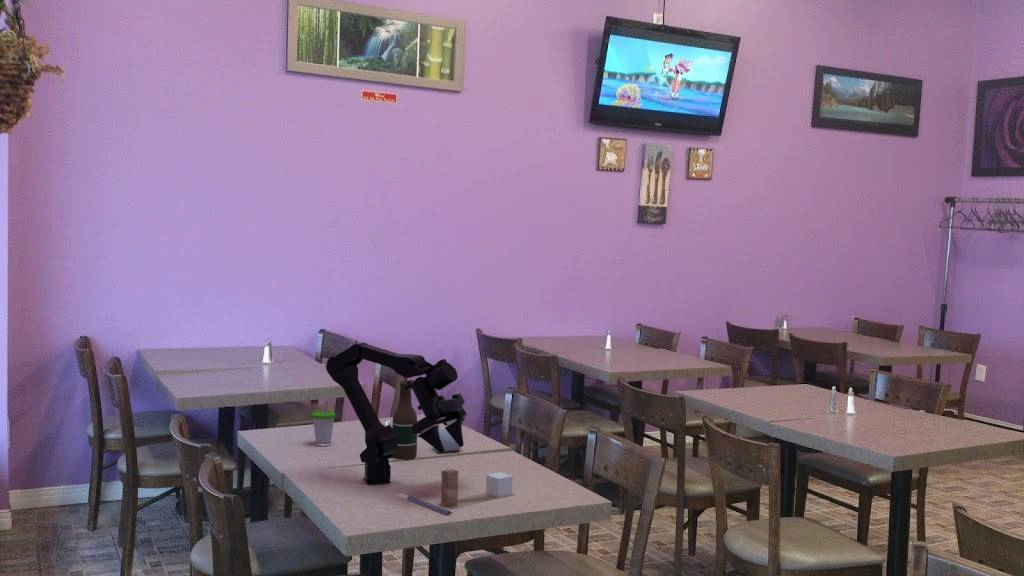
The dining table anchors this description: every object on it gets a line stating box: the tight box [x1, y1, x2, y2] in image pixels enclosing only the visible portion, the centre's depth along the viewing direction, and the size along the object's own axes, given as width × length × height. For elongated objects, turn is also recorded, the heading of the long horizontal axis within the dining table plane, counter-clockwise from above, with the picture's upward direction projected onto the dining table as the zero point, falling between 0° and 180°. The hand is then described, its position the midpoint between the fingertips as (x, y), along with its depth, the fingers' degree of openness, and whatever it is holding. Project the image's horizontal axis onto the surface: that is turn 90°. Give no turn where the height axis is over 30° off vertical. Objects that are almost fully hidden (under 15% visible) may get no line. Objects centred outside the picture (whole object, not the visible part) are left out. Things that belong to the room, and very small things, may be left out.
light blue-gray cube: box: [485, 471, 514, 498], centre depth 258 cm, size 5×5×5 cm
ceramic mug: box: [432, 427, 462, 453], centre depth 310 cm, size 11×8×8 cm
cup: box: [311, 401, 337, 445], centre depth 313 cm, size 8×8×15 cm
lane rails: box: [406, 495, 451, 516], centre depth 256 cm, size 17×25×1 cm
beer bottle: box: [391, 380, 418, 461], centre depth 299 cm, size 8×8×24 cm
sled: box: [436, 468, 515, 514], centre depth 252 cm, size 6×22×10 cm, turn 132°
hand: (452, 449), depth 258 cm, fingers open, 9 cm apart
